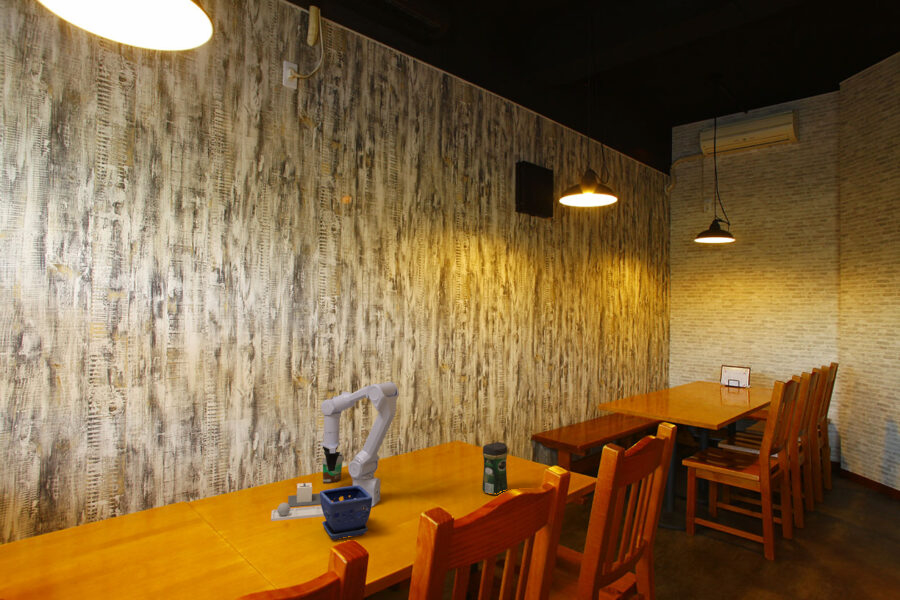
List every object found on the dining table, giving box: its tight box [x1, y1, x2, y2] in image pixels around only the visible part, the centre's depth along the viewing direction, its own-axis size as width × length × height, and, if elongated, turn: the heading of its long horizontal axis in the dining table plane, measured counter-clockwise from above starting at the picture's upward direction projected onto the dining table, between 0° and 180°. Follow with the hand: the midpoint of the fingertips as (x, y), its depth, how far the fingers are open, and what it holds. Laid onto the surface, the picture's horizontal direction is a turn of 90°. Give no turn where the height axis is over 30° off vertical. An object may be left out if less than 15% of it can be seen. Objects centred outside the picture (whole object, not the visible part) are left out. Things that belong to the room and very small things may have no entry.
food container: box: [321, 452, 345, 485], centre depth 210 cm, size 12×6×10 cm, turn 168°
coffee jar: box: [481, 441, 508, 495], centre depth 199 cm, size 10×8×19 cm
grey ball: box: [277, 502, 291, 516], centre depth 171 cm, size 4×4×4 cm
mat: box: [287, 492, 321, 508], centre depth 185 cm, size 11×11×1 cm
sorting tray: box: [270, 505, 325, 522], centre depth 173 cm, size 22×8×1 cm, turn 107°
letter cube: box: [296, 482, 313, 503], centre depth 185 cm, size 5×5×5 cm
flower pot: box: [319, 485, 372, 541], centre depth 159 cm, size 13×13×12 cm
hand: (330, 468), depth 194 cm, fingers open, 7 cm apart
